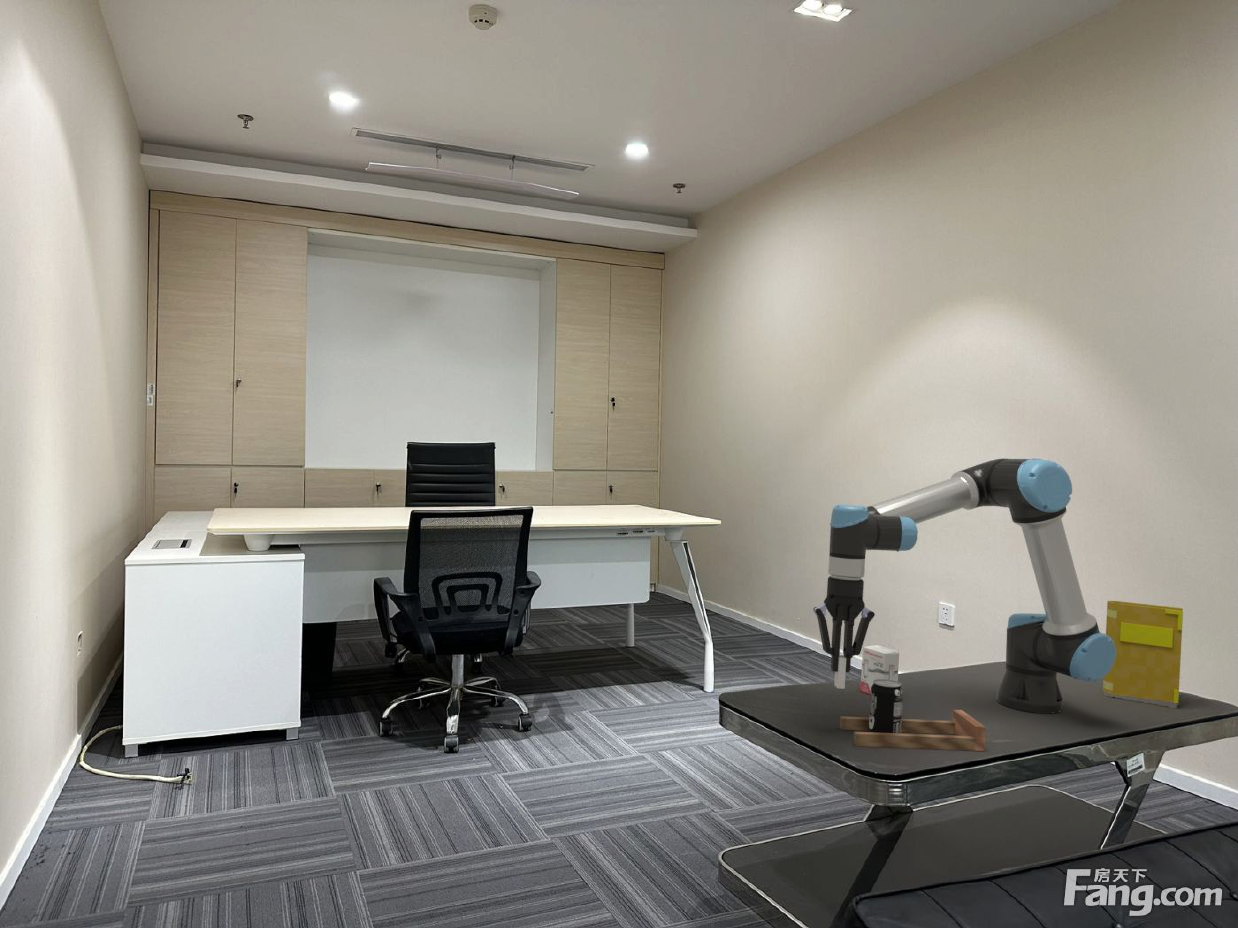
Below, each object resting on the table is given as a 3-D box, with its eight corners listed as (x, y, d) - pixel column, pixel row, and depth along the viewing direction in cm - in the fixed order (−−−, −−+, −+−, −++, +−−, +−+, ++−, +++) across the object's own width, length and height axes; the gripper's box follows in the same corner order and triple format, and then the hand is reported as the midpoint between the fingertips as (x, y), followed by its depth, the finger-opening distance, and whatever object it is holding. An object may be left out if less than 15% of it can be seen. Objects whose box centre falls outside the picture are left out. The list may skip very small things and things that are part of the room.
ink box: (859, 690, 222) (861, 645, 222) (873, 689, 224) (875, 644, 224) (883, 700, 214) (885, 652, 214) (897, 698, 216) (900, 651, 216)
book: (1177, 703, 224) (1182, 608, 224) (1178, 708, 219) (1183, 611, 218) (1103, 691, 233) (1108, 599, 233) (1102, 696, 228) (1106, 602, 228)
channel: (960, 732, 190) (961, 709, 190) (984, 750, 178) (985, 727, 178) (839, 727, 190) (840, 704, 190) (855, 745, 178) (856, 721, 178)
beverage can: (864, 732, 187) (866, 677, 187) (893, 733, 187) (895, 678, 187) (875, 742, 180) (878, 686, 180) (905, 743, 181) (908, 686, 181)
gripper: (870, 576, 187) (864, 683, 187) (811, 573, 187) (805, 680, 187) (881, 581, 180) (875, 693, 180) (820, 577, 180) (813, 689, 180)
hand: (839, 686), depth 184 cm, fingers closed
